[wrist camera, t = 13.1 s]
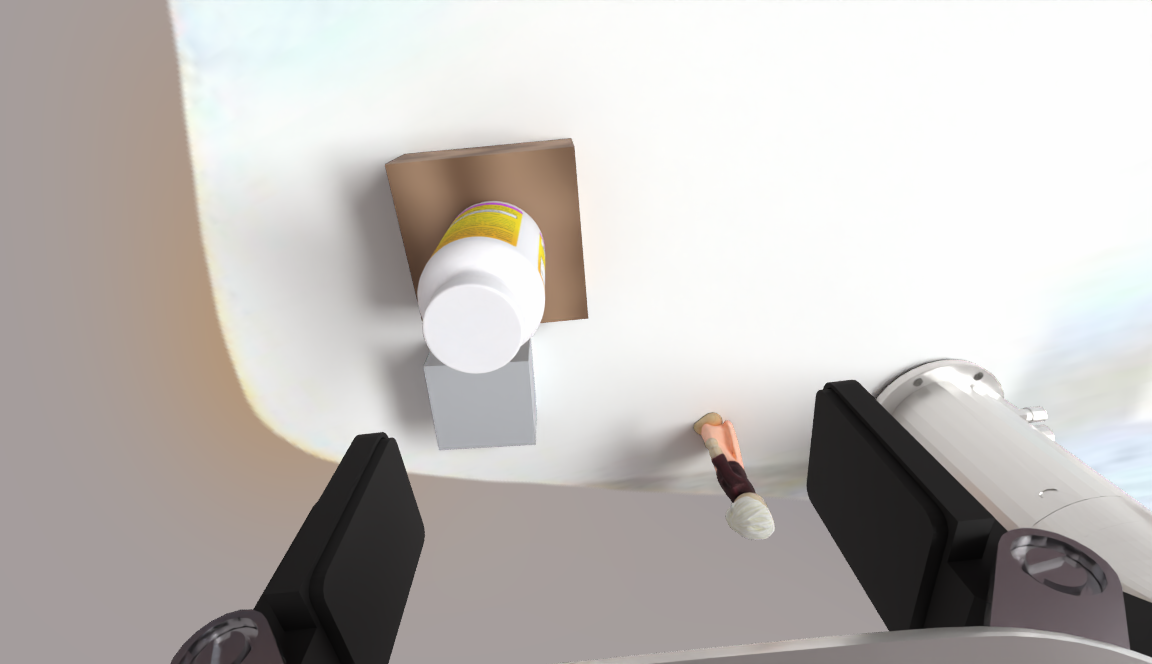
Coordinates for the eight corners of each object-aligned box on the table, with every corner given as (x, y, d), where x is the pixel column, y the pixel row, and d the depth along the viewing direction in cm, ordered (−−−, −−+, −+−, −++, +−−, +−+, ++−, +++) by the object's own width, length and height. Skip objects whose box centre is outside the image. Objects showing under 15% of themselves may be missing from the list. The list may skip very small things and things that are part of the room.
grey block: (530, 332, 44) (528, 361, 40) (536, 410, 48) (535, 444, 43) (436, 336, 44) (423, 366, 39) (449, 414, 47) (439, 450, 43)
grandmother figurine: (750, 440, 50) (809, 546, 39) (717, 462, 51) (765, 571, 40) (704, 391, 47) (754, 490, 36) (671, 415, 48) (709, 518, 37)
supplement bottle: (426, 237, 35) (366, 316, 23) (503, 177, 33) (480, 230, 22) (490, 310, 37) (465, 414, 26) (565, 258, 36) (572, 343, 24)
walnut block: (571, 138, 37) (574, 146, 33) (584, 293, 43) (588, 318, 38) (404, 154, 37) (384, 164, 33) (438, 307, 42) (425, 334, 38)
